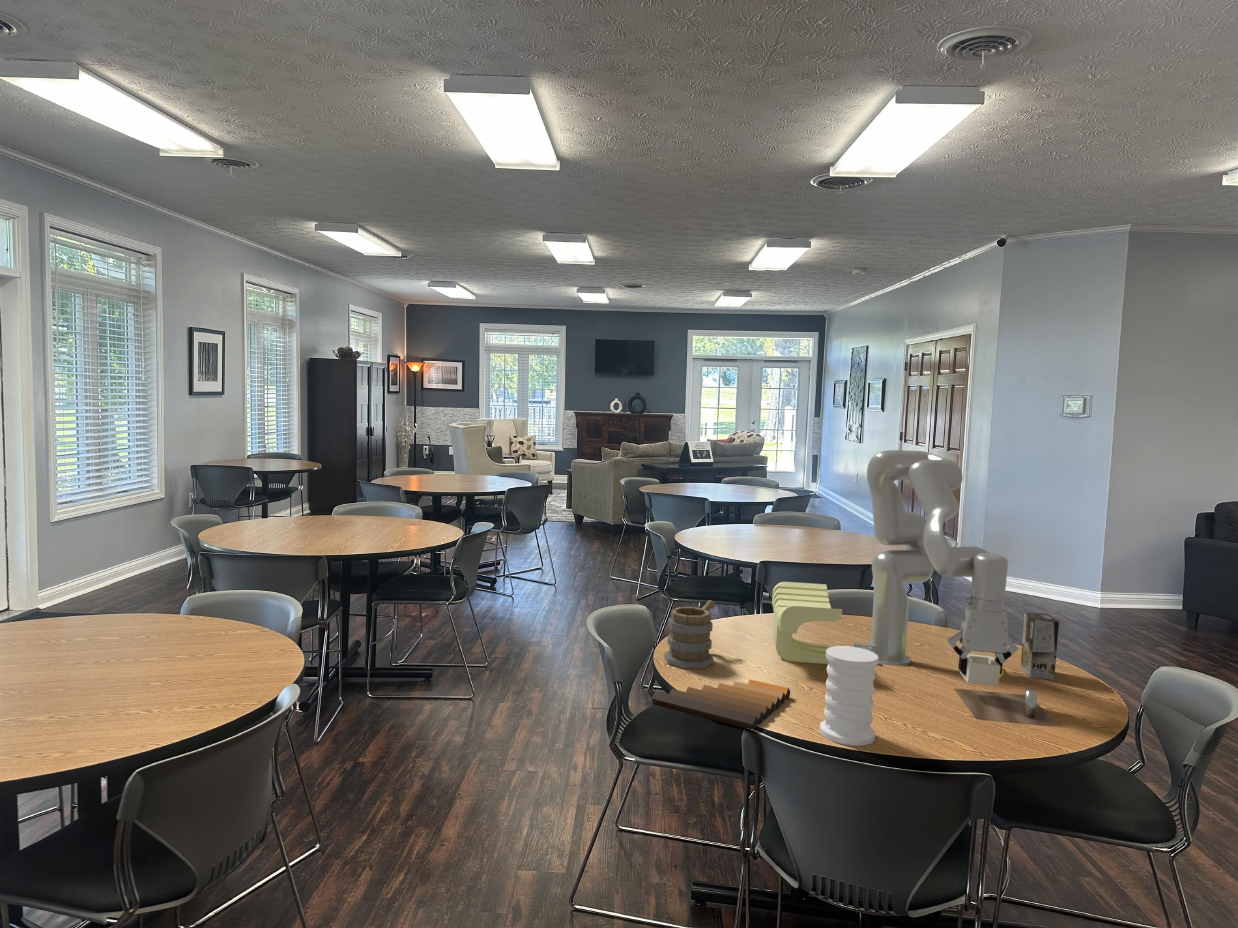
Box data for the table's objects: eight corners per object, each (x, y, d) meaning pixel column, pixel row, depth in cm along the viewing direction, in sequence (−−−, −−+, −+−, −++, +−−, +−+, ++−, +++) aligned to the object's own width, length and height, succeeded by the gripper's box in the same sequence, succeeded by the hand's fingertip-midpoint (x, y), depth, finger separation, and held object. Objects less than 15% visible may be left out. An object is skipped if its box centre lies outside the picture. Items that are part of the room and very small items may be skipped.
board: (975, 725, 178) (976, 718, 178) (953, 694, 198) (953, 688, 198) (1060, 733, 175) (1061, 727, 175) (1029, 701, 195) (1029, 695, 195)
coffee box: (1055, 680, 212) (1060, 621, 211) (1029, 677, 213) (1034, 619, 212) (1044, 669, 221) (1048, 613, 220) (1019, 666, 222) (1024, 611, 221)
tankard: (696, 672, 207) (698, 616, 206) (656, 661, 214) (659, 607, 213) (732, 654, 223) (735, 603, 222) (695, 645, 230) (697, 595, 229)
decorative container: (837, 719, 178) (842, 642, 177) (884, 736, 170) (890, 655, 169) (809, 732, 170) (813, 651, 169) (857, 750, 162) (862, 665, 161)
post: (1025, 717, 180) (1027, 692, 179) (1022, 713, 182) (1024, 688, 182) (1036, 718, 180) (1038, 693, 179) (1033, 714, 182) (1035, 689, 181)
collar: (967, 682, 190) (969, 663, 189) (960, 672, 196) (962, 653, 196) (998, 686, 188) (1000, 666, 188) (989, 675, 195) (991, 656, 195)
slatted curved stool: (770, 637, 241) (773, 580, 240) (823, 641, 239) (826, 584, 238) (777, 669, 211) (781, 604, 210) (838, 674, 209) (842, 609, 208)
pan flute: (651, 706, 183) (752, 733, 170) (652, 692, 183) (752, 718, 170) (697, 677, 204) (790, 699, 191) (698, 664, 204) (790, 685, 191)
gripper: (952, 605, 188) (946, 676, 190) (1030, 612, 185) (1022, 684, 187) (945, 596, 196) (938, 665, 197) (1019, 603, 193) (1011, 673, 195)
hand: (979, 674), depth 192 cm, fingers closed on collar, 7 cm apart
